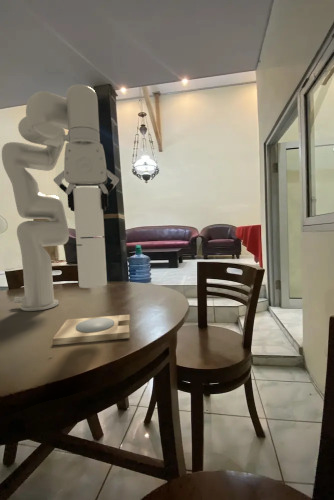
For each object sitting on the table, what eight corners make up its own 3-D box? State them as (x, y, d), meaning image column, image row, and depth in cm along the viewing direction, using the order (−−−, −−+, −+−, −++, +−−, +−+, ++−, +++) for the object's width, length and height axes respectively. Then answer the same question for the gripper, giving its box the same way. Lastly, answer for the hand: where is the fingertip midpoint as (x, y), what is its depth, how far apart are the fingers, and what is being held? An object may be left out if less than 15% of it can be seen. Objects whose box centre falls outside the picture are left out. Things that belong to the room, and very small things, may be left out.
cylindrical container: (99, 288, 65) (93, 186, 63) (73, 287, 66) (67, 188, 64) (111, 282, 72) (106, 190, 70) (87, 282, 73) (82, 192, 71)
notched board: (52, 345, 62) (52, 337, 62) (67, 324, 76) (66, 318, 75) (129, 338, 64) (129, 330, 64) (129, 319, 78) (129, 313, 78)
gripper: (43, 134, 61) (49, 210, 63) (118, 135, 64) (122, 208, 65) (53, 145, 69) (57, 212, 70) (119, 145, 71) (123, 210, 72)
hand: (88, 209), depth 68 cm, fingers closed on cylindrical container, 7 cm apart
